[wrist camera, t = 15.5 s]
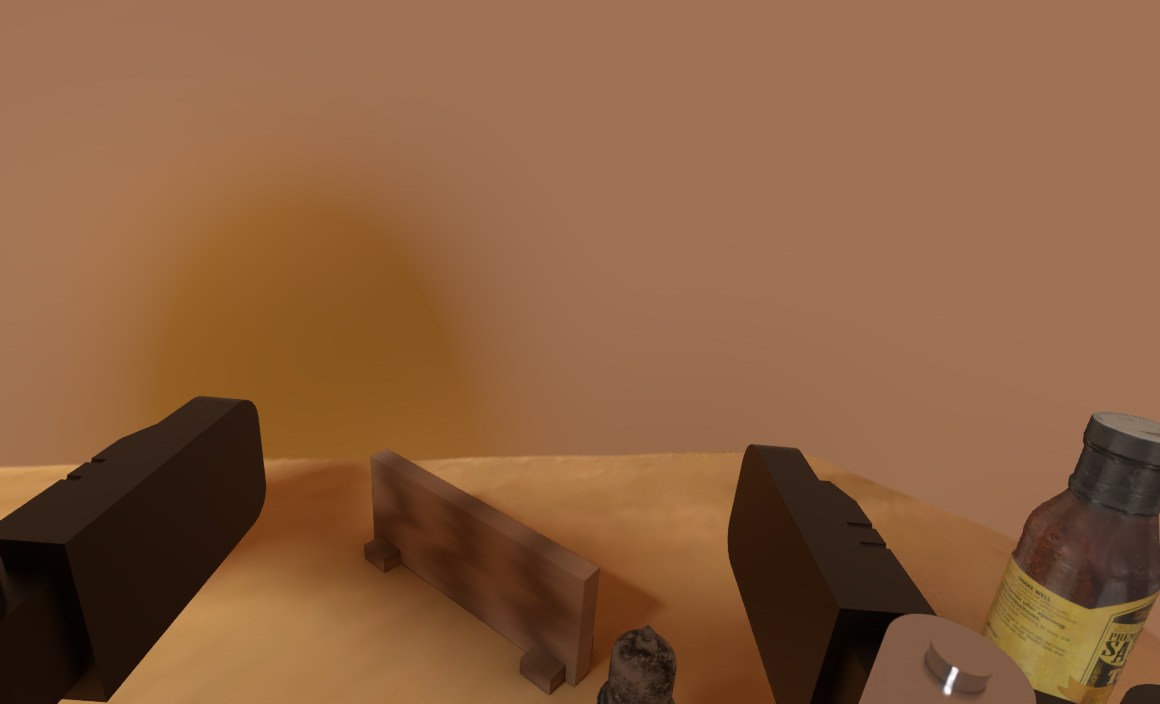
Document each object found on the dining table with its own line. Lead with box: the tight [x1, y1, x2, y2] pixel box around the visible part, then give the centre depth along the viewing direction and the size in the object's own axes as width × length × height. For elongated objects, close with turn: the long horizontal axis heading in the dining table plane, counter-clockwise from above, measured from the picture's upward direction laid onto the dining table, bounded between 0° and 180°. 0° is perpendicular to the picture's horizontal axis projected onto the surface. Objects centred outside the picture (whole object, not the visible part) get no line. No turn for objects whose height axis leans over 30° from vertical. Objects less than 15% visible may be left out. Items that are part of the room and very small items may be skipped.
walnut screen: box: [364, 449, 600, 695], centre depth 41 cm, size 20×4×8 cm, turn 53°
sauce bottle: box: [981, 412, 1160, 704], centre depth 34 cm, size 7×6×20 cm
